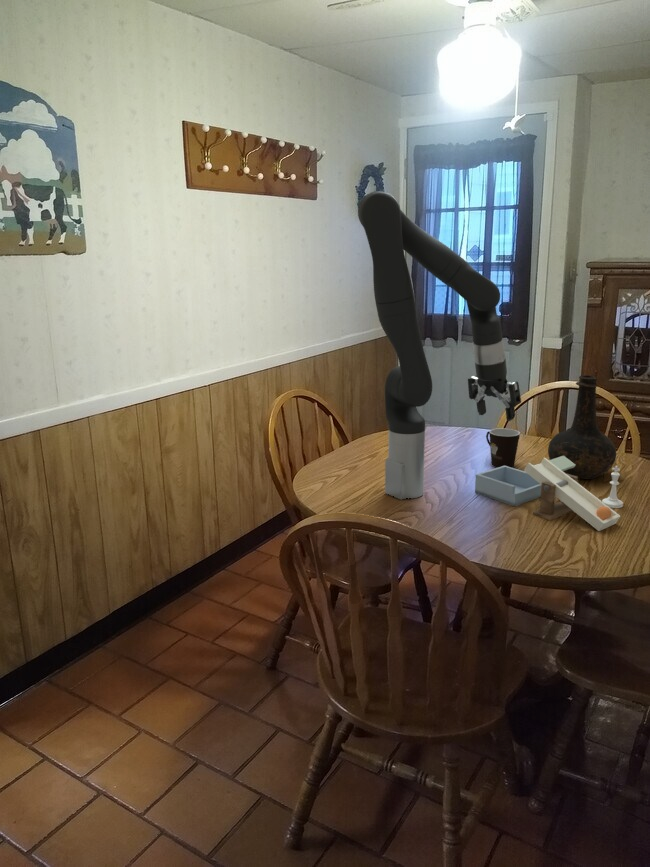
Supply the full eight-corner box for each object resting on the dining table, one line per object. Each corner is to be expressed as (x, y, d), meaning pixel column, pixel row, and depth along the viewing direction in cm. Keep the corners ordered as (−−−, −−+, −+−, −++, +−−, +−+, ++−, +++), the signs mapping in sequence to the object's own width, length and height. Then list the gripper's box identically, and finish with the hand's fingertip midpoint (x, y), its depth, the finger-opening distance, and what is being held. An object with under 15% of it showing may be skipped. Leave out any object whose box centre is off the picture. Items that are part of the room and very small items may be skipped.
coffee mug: (521, 469, 191) (523, 436, 188) (491, 469, 191) (492, 436, 188) (511, 457, 202) (513, 425, 199) (482, 457, 202) (484, 425, 200)
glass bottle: (600, 464, 195) (609, 369, 187) (624, 485, 177) (636, 382, 170) (538, 464, 195) (545, 370, 188) (557, 485, 178) (565, 382, 171)
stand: (582, 507, 163) (585, 476, 161) (550, 520, 155) (552, 488, 153) (564, 501, 167) (566, 471, 164) (532, 514, 159) (534, 482, 157)
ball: (604, 524, 150) (608, 511, 148) (592, 517, 152) (595, 505, 151) (612, 520, 151) (615, 508, 150) (599, 514, 154) (603, 502, 152)
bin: (514, 506, 164) (515, 487, 163) (474, 492, 174) (475, 474, 172) (543, 495, 171) (544, 477, 169) (503, 482, 180) (504, 465, 179)
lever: (636, 514, 158) (641, 506, 157) (598, 531, 149) (603, 523, 148) (562, 458, 172) (566, 450, 170) (523, 470, 163) (527, 463, 161)
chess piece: (605, 499, 168) (609, 461, 165) (625, 503, 165) (630, 465, 162) (598, 505, 164) (602, 466, 161) (619, 509, 161) (623, 470, 158)
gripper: (457, 360, 169) (465, 418, 175) (505, 366, 158) (511, 427, 165) (475, 350, 173) (482, 406, 179) (523, 355, 162) (528, 415, 169)
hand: (496, 416), depth 172 cm, fingers open, 8 cm apart
